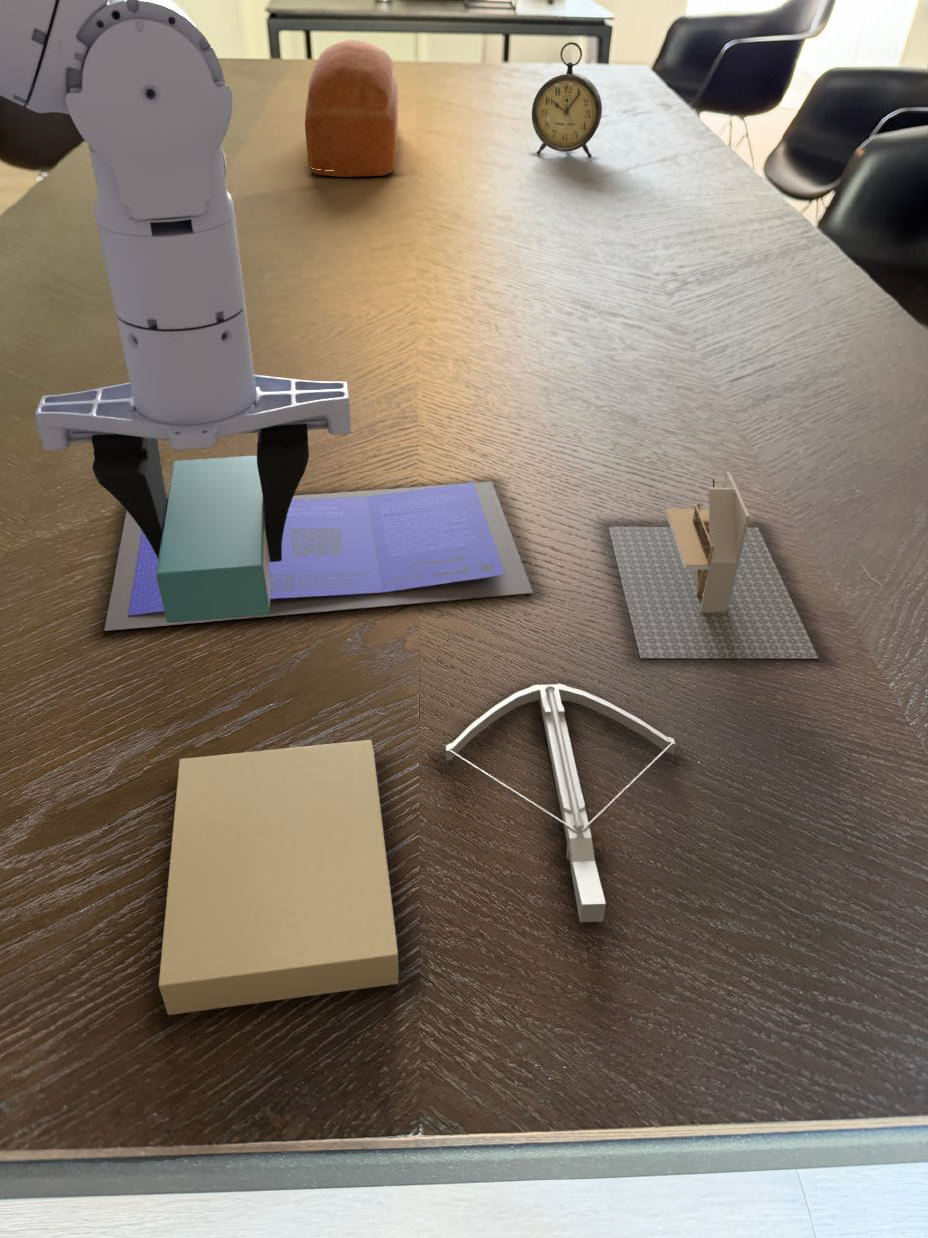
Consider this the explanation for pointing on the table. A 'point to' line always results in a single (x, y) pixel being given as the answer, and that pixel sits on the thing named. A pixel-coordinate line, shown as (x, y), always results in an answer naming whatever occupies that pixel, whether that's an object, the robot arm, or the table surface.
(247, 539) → the teal rectangular block
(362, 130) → the bread
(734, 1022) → the table surface
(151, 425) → the robot arm
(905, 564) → the table surface
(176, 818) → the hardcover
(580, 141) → the alarm clock
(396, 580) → the booklet
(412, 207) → the table surface
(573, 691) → the crossbow
